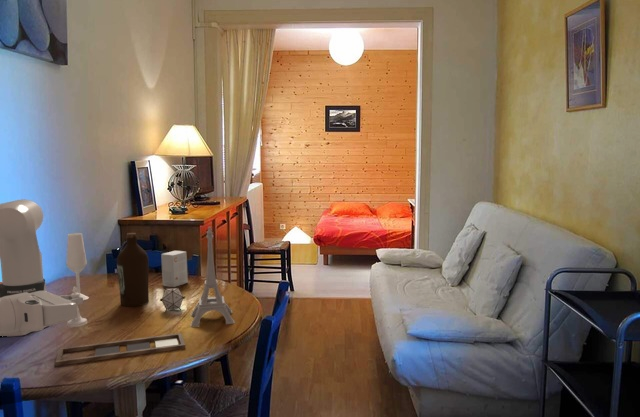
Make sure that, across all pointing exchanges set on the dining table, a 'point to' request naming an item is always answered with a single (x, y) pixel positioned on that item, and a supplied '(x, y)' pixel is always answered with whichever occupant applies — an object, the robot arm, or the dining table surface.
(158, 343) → the pad
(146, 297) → the olive oil
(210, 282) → the eiffel tower
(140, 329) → the dining table surface
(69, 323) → the chess piece
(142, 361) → the dining table surface
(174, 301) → the game die
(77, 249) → the champagne flute
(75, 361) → the tray
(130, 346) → the tiles
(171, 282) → the small box
